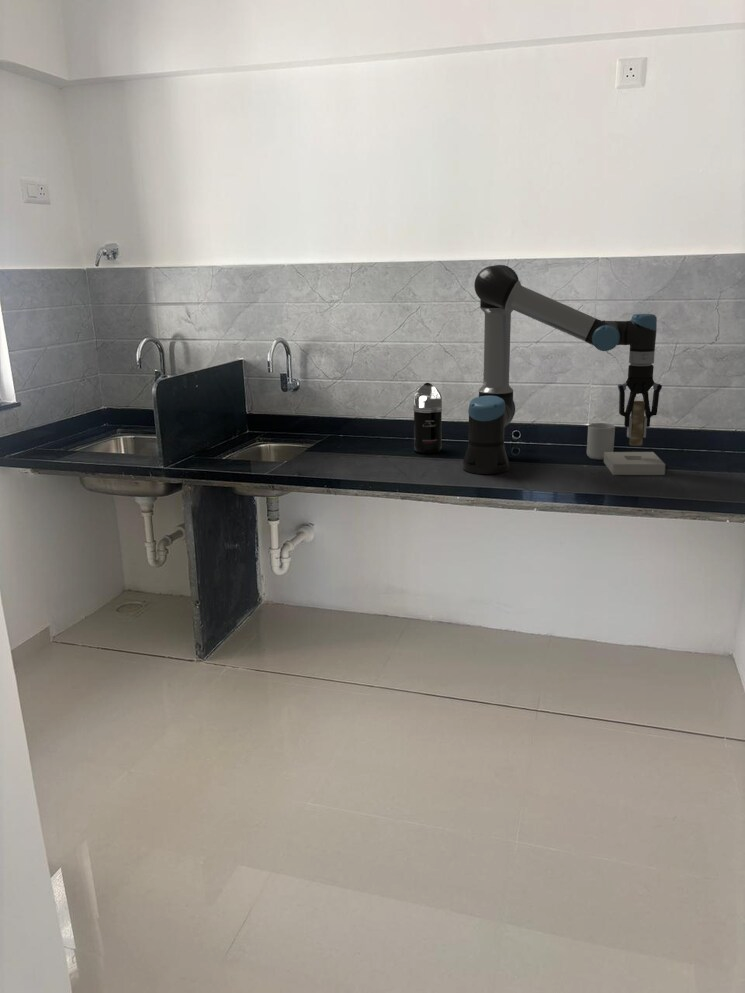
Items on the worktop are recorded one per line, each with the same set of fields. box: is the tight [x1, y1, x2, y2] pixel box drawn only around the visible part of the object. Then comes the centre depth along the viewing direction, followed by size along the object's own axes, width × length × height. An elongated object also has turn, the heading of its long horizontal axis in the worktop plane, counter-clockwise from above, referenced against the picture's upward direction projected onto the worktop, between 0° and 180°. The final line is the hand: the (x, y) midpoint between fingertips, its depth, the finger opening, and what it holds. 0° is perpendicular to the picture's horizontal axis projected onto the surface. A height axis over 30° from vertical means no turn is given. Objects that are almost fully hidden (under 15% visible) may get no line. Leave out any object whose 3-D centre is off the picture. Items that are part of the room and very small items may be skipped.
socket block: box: [603, 451, 666, 476], centre depth 256 cm, size 16×16×4 cm
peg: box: [628, 400, 645, 447], centre depth 252 cm, size 4×4×14 cm
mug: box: [586, 422, 616, 461], centre depth 271 cm, size 12×9×11 cm
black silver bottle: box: [413, 382, 443, 454], centre depth 281 cm, size 10×10×25 cm
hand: (636, 436), depth 253 cm, fingers closed on peg, 4 cm apart
